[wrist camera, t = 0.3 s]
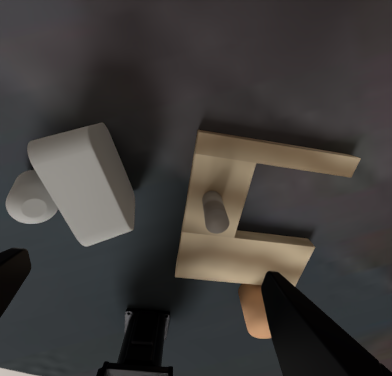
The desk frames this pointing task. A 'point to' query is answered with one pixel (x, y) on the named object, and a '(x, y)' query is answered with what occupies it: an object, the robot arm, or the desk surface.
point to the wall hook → (76, 185)
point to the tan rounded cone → (254, 310)
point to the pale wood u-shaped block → (233, 205)
